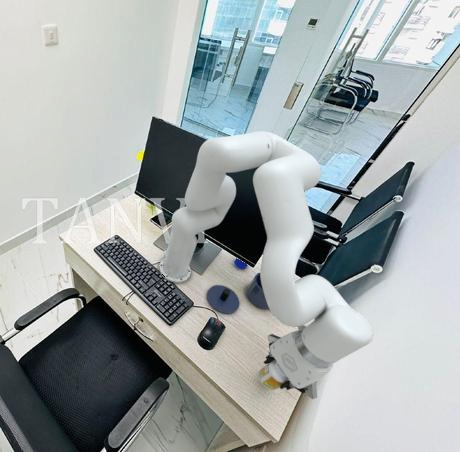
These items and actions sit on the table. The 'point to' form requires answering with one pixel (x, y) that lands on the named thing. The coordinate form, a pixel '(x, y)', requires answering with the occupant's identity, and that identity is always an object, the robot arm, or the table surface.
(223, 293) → the lid
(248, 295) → the pot
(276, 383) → the supplement bottle
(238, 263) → the beverage can
